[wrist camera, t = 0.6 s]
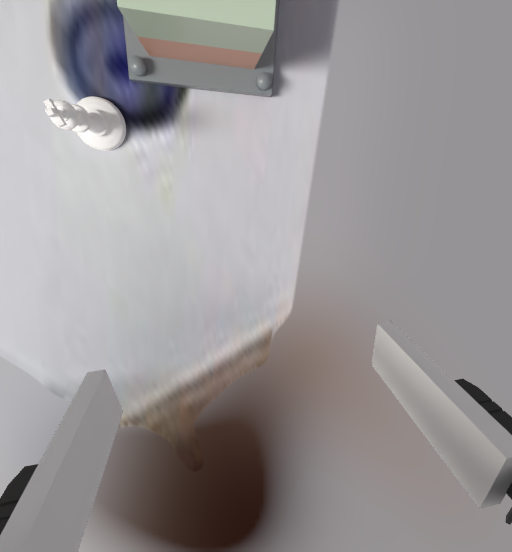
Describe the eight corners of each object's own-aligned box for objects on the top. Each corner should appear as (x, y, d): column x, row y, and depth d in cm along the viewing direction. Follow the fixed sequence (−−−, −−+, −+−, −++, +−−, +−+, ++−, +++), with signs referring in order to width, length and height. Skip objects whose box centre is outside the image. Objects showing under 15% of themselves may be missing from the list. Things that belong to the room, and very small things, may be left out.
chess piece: (108, 88, 27) (57, 56, 18) (135, 140, 29) (101, 134, 20) (63, 108, 27) (-9, 86, 18) (93, 158, 29) (42, 160, 20)
